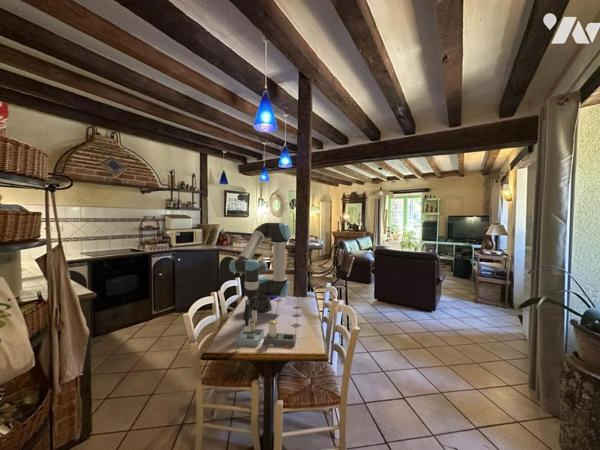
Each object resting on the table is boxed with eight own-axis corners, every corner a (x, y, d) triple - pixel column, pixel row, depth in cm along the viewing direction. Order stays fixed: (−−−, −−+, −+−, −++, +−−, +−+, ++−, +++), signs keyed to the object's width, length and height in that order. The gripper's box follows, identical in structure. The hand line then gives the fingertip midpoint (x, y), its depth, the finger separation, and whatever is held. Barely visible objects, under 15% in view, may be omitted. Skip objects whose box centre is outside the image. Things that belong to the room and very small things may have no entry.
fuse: (269, 337, 143) (270, 319, 142) (277, 338, 142) (277, 320, 142) (268, 341, 138) (268, 322, 138) (276, 341, 138) (276, 323, 138)
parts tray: (244, 333, 150) (244, 327, 150) (264, 334, 149) (264, 329, 149) (235, 344, 136) (235, 338, 136) (257, 345, 135) (258, 340, 135)
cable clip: (271, 300, 213) (272, 293, 213) (267, 299, 215) (268, 292, 215) (281, 297, 222) (281, 290, 222) (277, 296, 225) (277, 289, 225)
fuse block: (267, 337, 145) (267, 332, 145) (296, 339, 143) (296, 334, 143) (263, 345, 135) (263, 340, 135) (294, 347, 134) (294, 342, 134)
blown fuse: (247, 336, 145) (248, 318, 145) (255, 336, 145) (255, 318, 144) (245, 339, 140) (245, 321, 140) (253, 340, 140) (253, 321, 140)
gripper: (251, 282, 155) (250, 317, 155) (237, 294, 130) (236, 335, 130) (263, 283, 154) (262, 318, 154) (251, 295, 129) (251, 336, 130)
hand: (250, 326), depth 142 cm, fingers open, 13 cm apart
